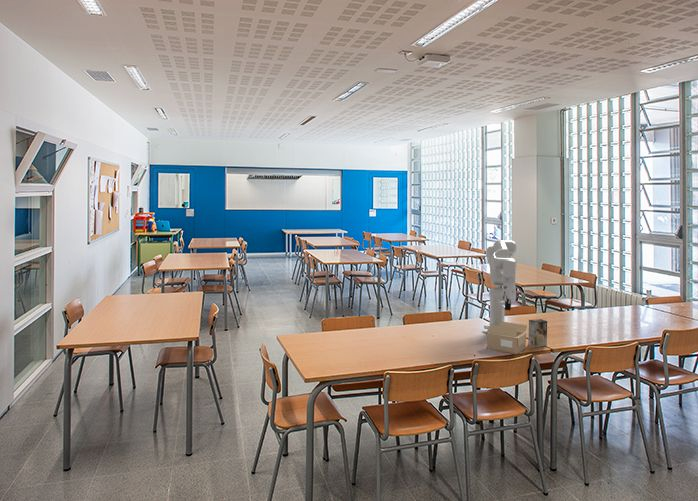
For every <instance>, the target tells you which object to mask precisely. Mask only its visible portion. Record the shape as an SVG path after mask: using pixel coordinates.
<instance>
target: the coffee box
mask: <svg viewBox="0 0 698 501" xmlns="http://www.w3.org/2000/svg"><path fill="white" fill-rule="evenodd" d="M527 339H528V344H527V345H528V346H530V347H532V348H540V346H543V347H547V346H548V345H547V343H548V342H547V340H548V321H547V320H546V319H542V318H535V319H529V320H528V338H527Z"/></svg>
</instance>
